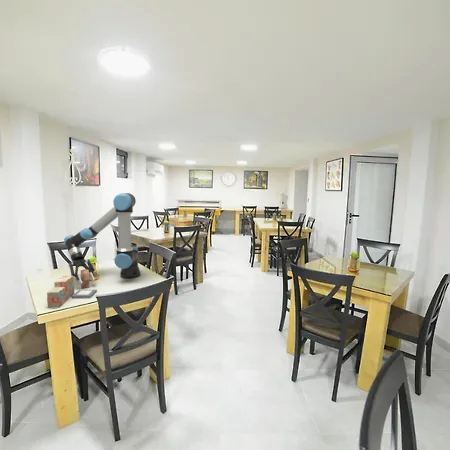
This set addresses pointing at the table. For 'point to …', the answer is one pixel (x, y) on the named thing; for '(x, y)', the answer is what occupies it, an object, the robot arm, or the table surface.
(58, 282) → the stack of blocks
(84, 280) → the column
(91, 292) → the base board
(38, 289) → the table surface
